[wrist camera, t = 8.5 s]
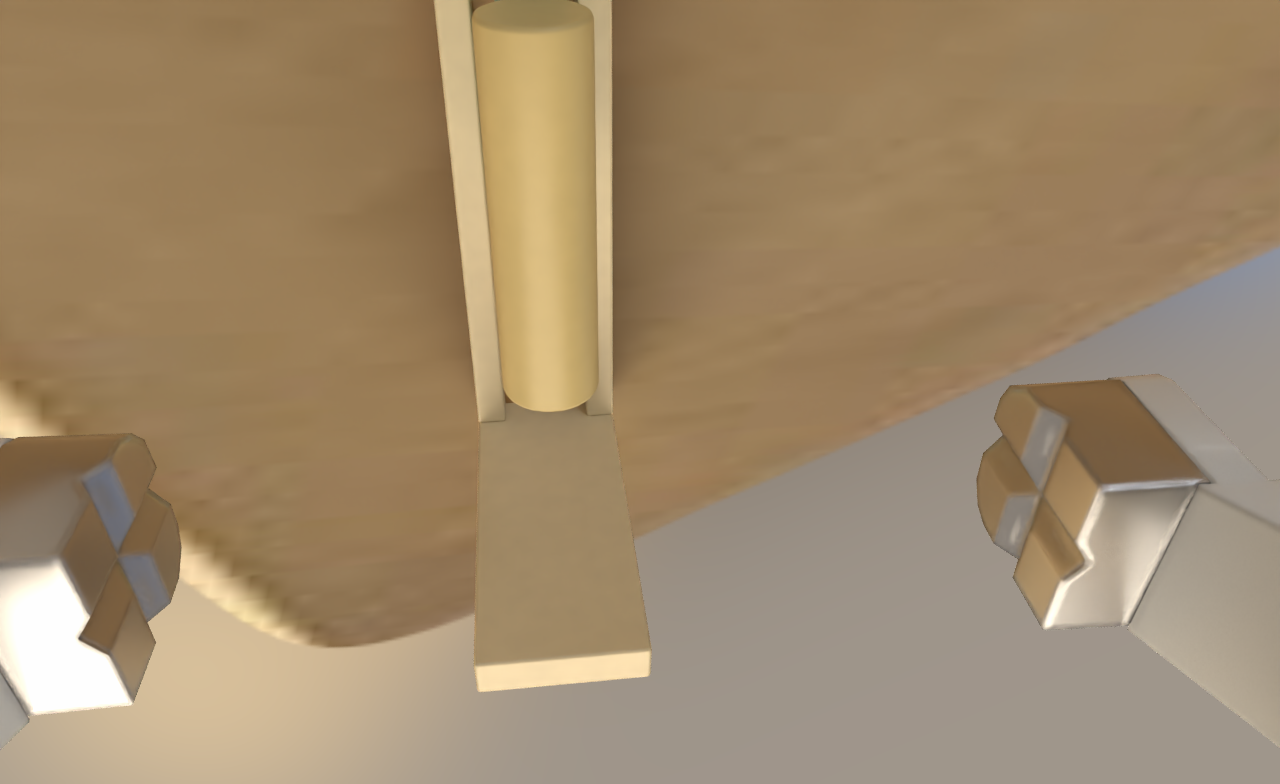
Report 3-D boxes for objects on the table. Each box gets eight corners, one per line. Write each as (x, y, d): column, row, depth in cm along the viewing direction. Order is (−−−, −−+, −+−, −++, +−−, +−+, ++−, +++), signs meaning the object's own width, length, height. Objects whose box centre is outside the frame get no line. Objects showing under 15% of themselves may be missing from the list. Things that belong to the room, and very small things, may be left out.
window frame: (482, 406, 30) (477, 693, 22) (411, -282, 20) (345, -267, 11) (606, 399, 31) (651, 677, 22) (601, -278, 20) (682, -263, 12)
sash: (502, 191, 25) (507, 464, 16) (476, -166, 20) (461, -60, 11) (564, 188, 25) (603, 458, 16) (552, -166, 20) (598, -61, 11)
